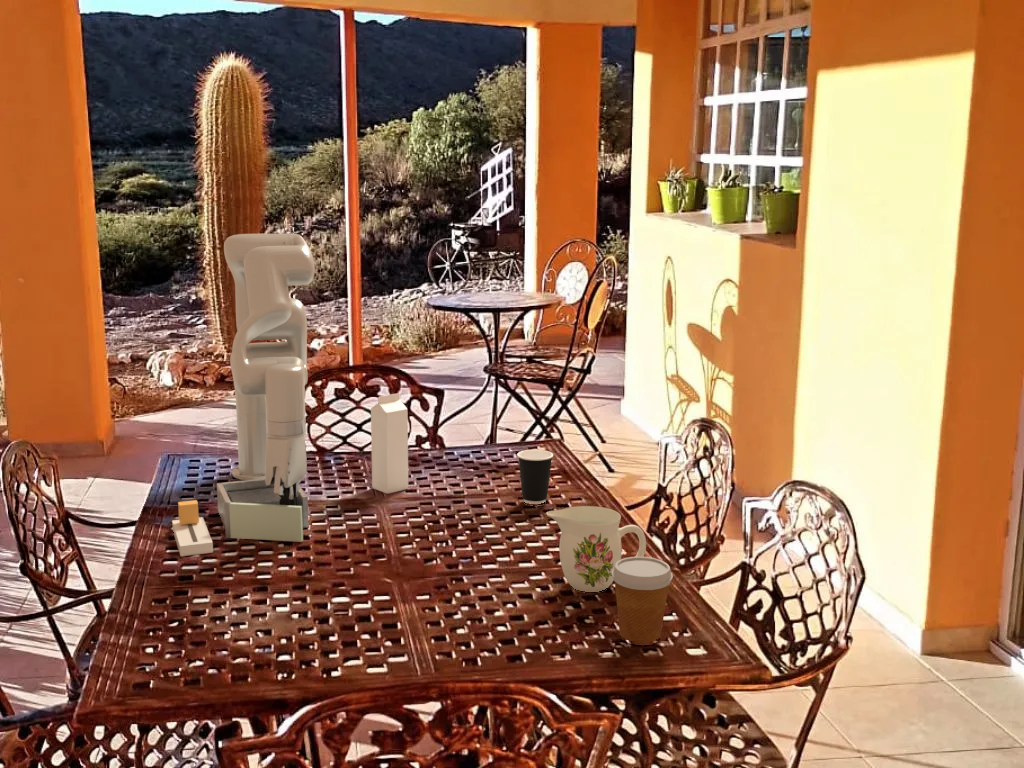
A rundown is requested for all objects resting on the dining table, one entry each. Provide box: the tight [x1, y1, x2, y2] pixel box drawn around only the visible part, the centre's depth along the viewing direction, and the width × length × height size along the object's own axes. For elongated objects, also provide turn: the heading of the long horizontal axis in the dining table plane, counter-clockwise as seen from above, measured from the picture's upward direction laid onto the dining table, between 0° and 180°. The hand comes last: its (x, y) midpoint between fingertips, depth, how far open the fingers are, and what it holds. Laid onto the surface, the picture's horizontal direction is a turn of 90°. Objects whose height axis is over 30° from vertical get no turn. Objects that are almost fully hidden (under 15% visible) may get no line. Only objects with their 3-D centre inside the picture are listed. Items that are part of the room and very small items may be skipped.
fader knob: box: [177, 499, 200, 525], centre depth 217 cm, size 2×4×4 cm, turn 112°
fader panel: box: [171, 516, 214, 557], centre depth 213 cm, size 16×6×2 cm, turn 22°
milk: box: [370, 392, 409, 494], centre depth 247 cm, size 6×6×22 cm
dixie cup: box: [516, 449, 554, 504], centre depth 239 cm, size 8×8×11 cm
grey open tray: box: [216, 479, 309, 529], centre depth 226 cm, size 16×16×6 cm
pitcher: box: [545, 505, 647, 593], centre depth 192 cm, size 11×18×14 cm, turn 97°
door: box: [224, 501, 304, 543], centre depth 214 cm, size 1×16×7 cm, turn 82°
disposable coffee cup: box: [612, 556, 674, 642], centre depth 171 cm, size 10×10×12 cm
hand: (289, 516), depth 216 cm, fingers closed
